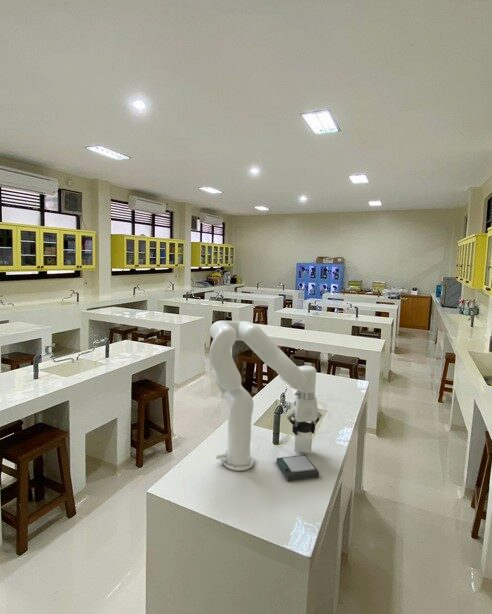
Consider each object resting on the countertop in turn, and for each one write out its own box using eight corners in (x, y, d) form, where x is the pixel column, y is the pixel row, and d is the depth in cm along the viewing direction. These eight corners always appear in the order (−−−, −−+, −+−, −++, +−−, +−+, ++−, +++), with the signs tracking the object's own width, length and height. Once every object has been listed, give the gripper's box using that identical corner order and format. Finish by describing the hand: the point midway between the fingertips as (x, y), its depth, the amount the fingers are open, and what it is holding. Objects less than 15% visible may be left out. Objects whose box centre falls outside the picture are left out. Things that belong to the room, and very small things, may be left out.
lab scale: (287, 481, 145) (288, 474, 145) (276, 463, 158) (276, 456, 157) (318, 477, 148) (319, 470, 148) (305, 460, 161) (305, 453, 160)
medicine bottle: (310, 453, 162) (312, 427, 160) (294, 451, 163) (295, 425, 162) (310, 445, 169) (312, 420, 167) (294, 443, 170) (296, 418, 169)
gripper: (290, 398, 157) (288, 438, 159) (328, 396, 161) (325, 435, 164) (283, 392, 164) (281, 430, 167) (320, 390, 169) (317, 427, 171)
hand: (303, 432), depth 165 cm, fingers closed on medicine bottle, 7 cm apart
